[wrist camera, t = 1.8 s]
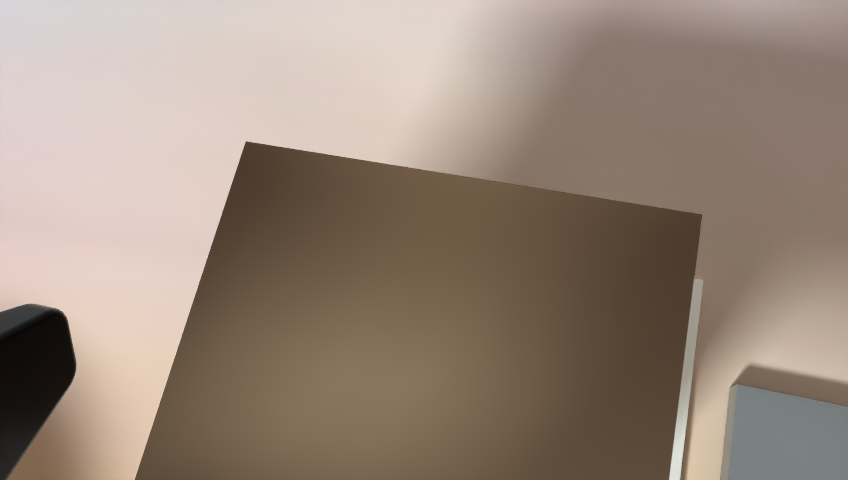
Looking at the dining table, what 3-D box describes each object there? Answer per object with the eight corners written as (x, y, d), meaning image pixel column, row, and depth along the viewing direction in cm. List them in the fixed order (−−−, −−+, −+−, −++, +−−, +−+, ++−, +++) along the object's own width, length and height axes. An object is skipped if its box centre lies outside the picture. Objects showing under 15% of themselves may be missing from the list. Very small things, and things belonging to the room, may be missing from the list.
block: (573, 549, 16) (647, 649, 6) (352, 493, 17) (126, 505, 7) (601, 366, 17) (702, 215, 7) (393, 324, 18) (245, 141, 8)
